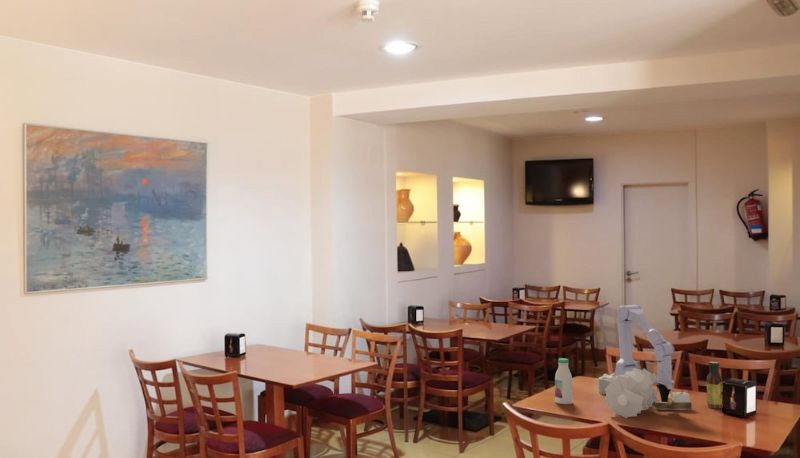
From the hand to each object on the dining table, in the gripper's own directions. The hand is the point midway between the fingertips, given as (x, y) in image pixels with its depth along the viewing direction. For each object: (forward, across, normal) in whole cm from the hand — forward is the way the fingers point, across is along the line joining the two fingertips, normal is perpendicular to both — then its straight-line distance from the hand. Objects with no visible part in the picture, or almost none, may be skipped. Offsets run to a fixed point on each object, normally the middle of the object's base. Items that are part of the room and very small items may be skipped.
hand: (664, 401), depth 281 cm
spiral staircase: (+4, -4, +15) cm, 16 cm away
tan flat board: (+4, +4, -5) cm, 8 cm away
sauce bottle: (+4, +6, -24) cm, 25 cm away
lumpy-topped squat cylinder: (+5, +33, +13) cm, 36 cm away
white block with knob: (+1, +4, -9) cm, 10 cm away
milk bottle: (+4, +13, +41) cm, 43 cm away
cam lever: (+1, +1, -3) cm, 3 cm away
